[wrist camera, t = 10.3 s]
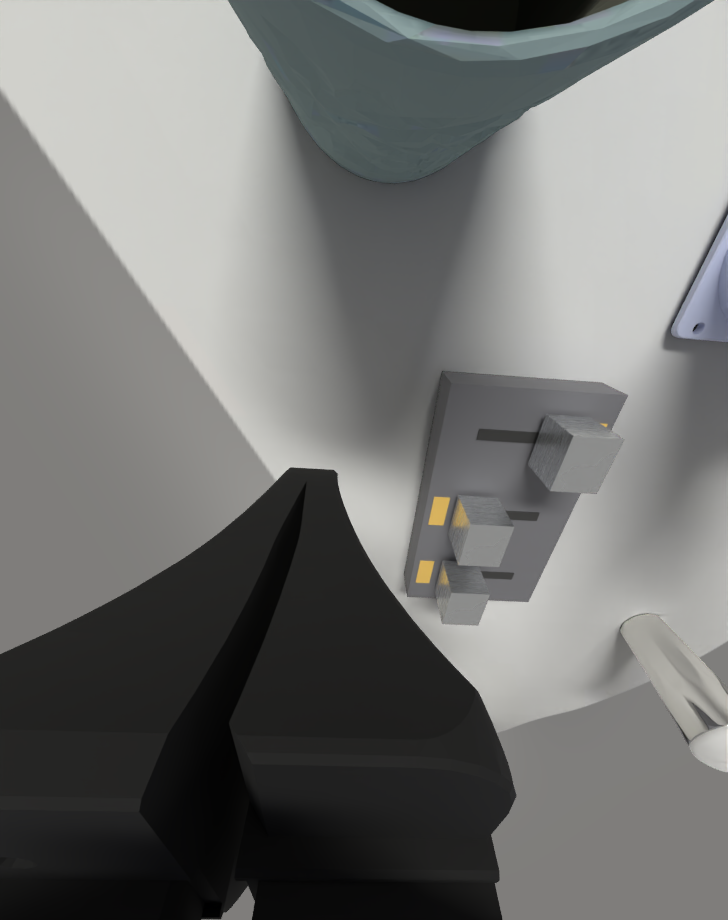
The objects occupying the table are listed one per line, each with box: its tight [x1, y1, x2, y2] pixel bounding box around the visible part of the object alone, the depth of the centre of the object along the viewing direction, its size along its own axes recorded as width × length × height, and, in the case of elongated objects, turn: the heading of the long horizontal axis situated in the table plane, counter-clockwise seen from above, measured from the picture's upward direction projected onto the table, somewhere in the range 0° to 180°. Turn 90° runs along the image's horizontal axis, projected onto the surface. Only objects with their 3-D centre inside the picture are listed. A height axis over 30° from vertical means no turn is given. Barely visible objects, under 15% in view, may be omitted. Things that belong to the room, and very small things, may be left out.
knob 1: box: [448, 495, 514, 567], centre depth 18 cm, size 2×3×2 cm
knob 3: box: [528, 414, 624, 494], centre depth 16 cm, size 2×3×2 cm
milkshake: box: [620, 614, 728, 772], centre depth 24 cm, size 4×5×10 cm
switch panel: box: [404, 371, 628, 602], centre depth 20 cm, size 8×15×2 cm, turn 176°
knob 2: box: [435, 561, 490, 625], centre depth 21 cm, size 2×3×2 cm
